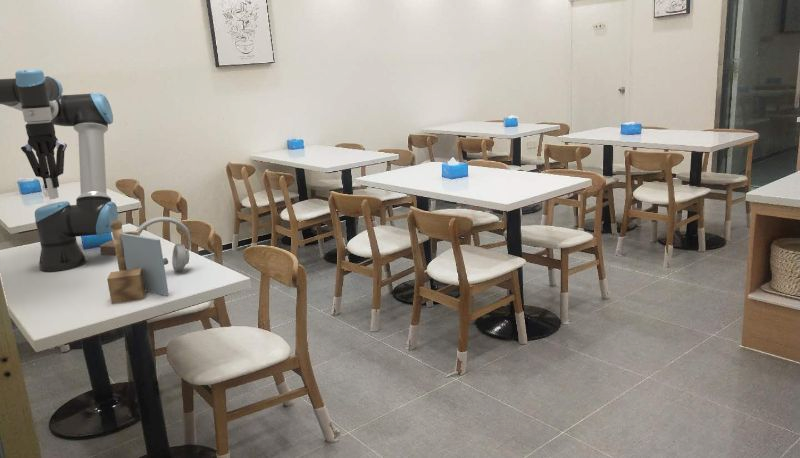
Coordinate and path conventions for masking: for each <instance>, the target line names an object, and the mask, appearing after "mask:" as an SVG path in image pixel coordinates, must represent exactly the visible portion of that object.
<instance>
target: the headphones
mask: <svg viewBox="0 0 800 458" xmlns="http://www.w3.org/2000/svg"><path fill="white" fill-rule="evenodd" d="M161 222H167V223H171V224H173V225H175V226H177V227H179V228H180V229H181V230H182V231H183V232H184V233H185V235H186V237H187V242H188V245H187V248H186V245H185V244H184V243H183V244H181V243H179V244H178V243H175V245H174V246H173V250H172V257H171V258H172V259H171V260H172V261H171V262H172V263H171V264H172V269H173V271H180V272H183V270H184V269H185V267H186V265H188V264H189V263H190V252H189V251H190V249H191V246H192V242H191V241H192V240H191V234H190V230H189V228H188V227H187V226H186V225H185V224H184V223H182V222H181V221H180V220H178V219H176V218H173V217H169V216H156V217H152V218H149V219H148V220H146V221H144V222H143V223H141V224H140V225H139V227H138V228H136V230H135V231H139V234H140V235H141V233H142V232H143V231H144V230H145V229H146V228H147V227H149V226H151V225H153V224H157V223H161Z"/></svg>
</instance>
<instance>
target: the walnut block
mask: <svg viewBox="0 0 800 458" xmlns="http://www.w3.org/2000/svg"><path fill="white" fill-rule="evenodd" d="M106 280H107V285H108V291H109V296H110V301H111V302H110V303H111V304H120V303H127V302H134V301H141V300H144V299H145V297H146V293H147V290H146V289H145V283H144V277H143V271H142V268H139V269H131V270H123V271H119V270H117V271H111V272H110V273H109V275H108V277H107V279H106Z"/></svg>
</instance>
